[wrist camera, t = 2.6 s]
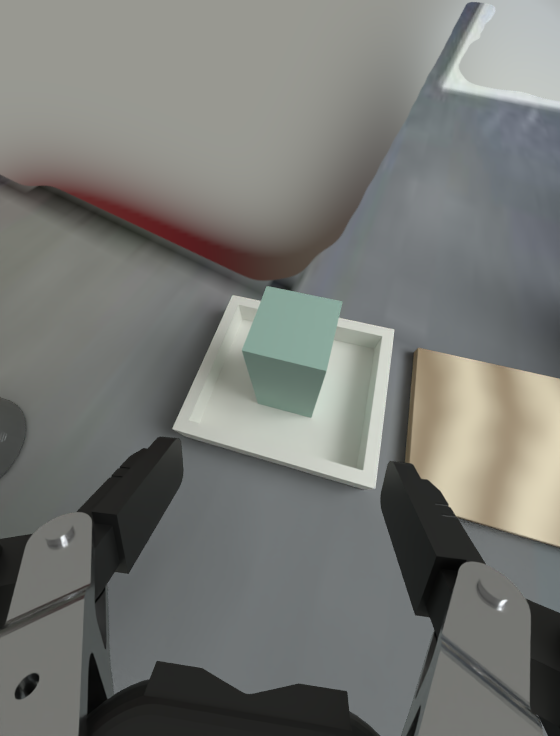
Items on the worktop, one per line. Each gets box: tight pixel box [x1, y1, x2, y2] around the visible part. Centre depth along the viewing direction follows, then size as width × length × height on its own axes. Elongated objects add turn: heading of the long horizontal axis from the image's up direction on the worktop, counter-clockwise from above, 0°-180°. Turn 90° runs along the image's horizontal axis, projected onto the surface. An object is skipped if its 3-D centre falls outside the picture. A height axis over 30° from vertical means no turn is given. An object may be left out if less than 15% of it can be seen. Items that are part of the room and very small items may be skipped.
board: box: [405, 348, 560, 548], centre depth 23 cm, size 14×14×1 cm
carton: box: [242, 286, 342, 418], centre depth 21 cm, size 5×5×10 cm
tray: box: [172, 295, 394, 490], centre depth 25 cm, size 16×14×3 cm
